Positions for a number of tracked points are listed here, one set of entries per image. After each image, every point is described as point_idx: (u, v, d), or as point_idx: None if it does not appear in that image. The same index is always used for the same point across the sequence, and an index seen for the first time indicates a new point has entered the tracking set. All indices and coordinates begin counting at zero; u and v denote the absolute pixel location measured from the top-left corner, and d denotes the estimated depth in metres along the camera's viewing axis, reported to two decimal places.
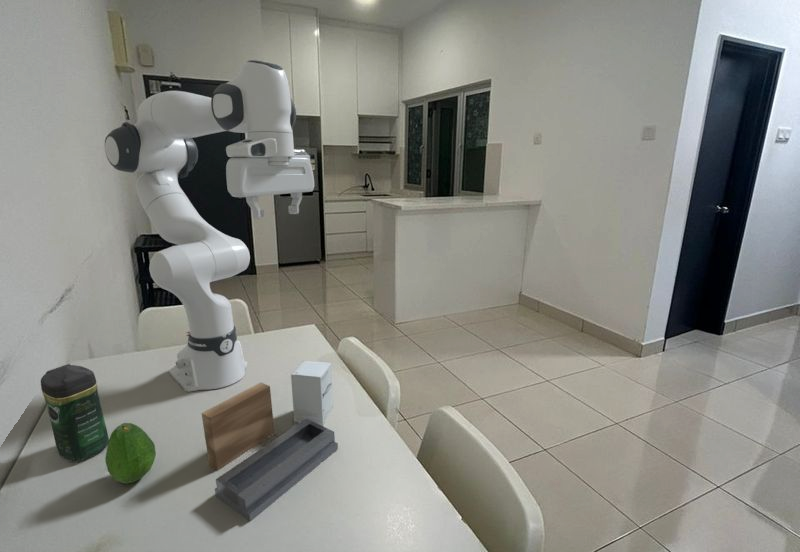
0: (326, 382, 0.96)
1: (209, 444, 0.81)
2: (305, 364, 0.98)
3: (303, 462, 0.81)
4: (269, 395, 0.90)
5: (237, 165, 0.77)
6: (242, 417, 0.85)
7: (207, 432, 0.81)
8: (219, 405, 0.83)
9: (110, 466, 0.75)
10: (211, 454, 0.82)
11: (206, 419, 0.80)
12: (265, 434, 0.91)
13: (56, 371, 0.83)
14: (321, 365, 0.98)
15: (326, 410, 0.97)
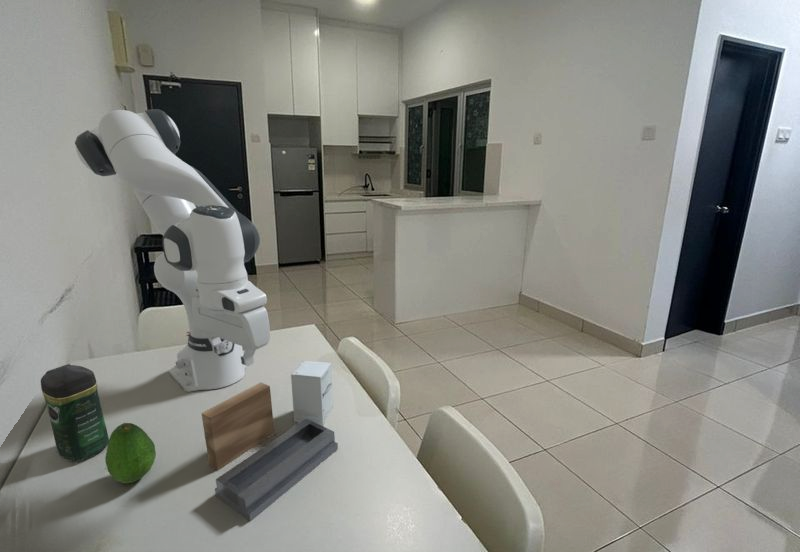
0: (326, 382, 0.96)
1: (209, 444, 0.81)
2: (305, 364, 0.98)
3: (303, 462, 0.81)
4: (269, 395, 0.90)
5: (263, 316, 0.76)
6: (242, 417, 0.85)
7: (207, 432, 0.81)
8: (219, 405, 0.83)
9: (110, 466, 0.75)
10: (211, 454, 0.82)
11: (205, 419, 0.80)
12: (265, 434, 0.91)
13: (56, 371, 0.83)
14: (321, 365, 0.98)
15: (326, 410, 0.97)
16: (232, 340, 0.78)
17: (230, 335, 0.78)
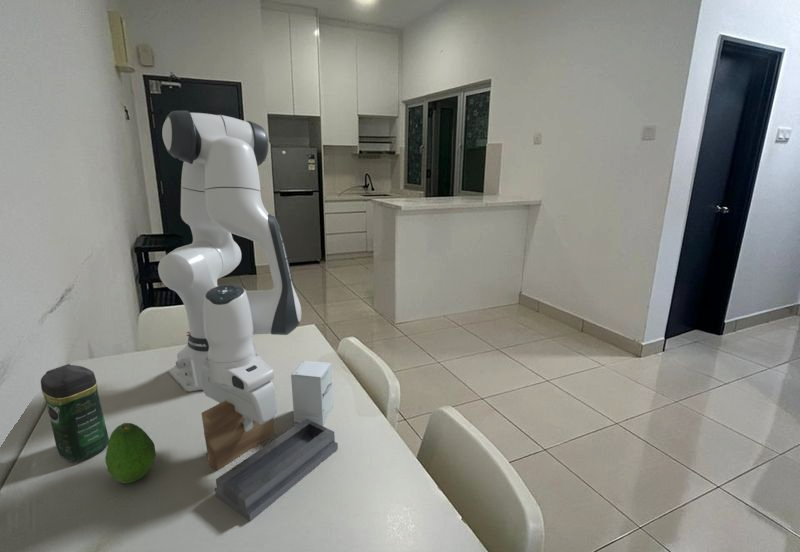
0: (326, 382, 0.96)
1: (209, 444, 0.81)
2: (305, 364, 0.98)
3: (303, 462, 0.81)
4: None
5: (271, 391, 0.80)
6: (242, 417, 0.85)
7: (207, 432, 0.81)
8: (219, 405, 0.83)
9: (110, 466, 0.75)
10: (211, 453, 0.82)
11: (205, 419, 0.80)
12: (265, 434, 0.91)
13: (56, 371, 0.83)
14: (321, 365, 0.98)
15: (326, 410, 0.97)
16: (240, 412, 0.82)
17: (239, 407, 0.82)
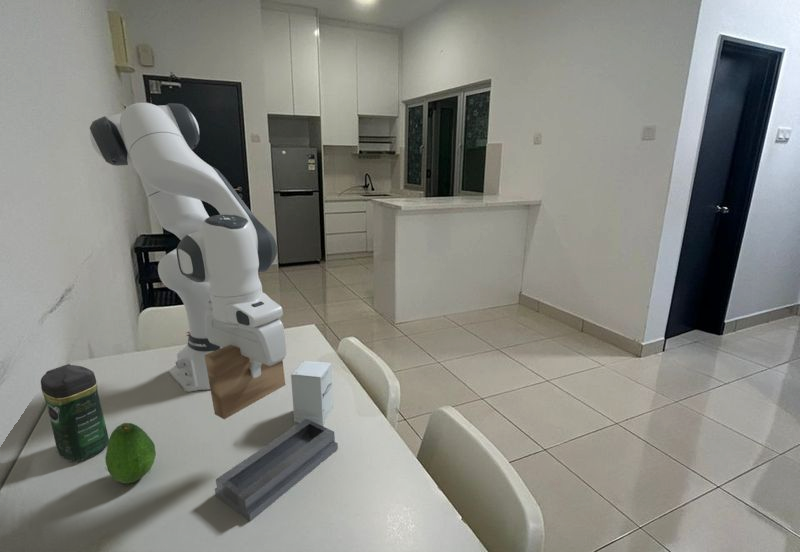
0: (326, 382, 0.96)
1: (214, 390, 0.74)
2: (305, 364, 0.98)
3: (303, 462, 0.81)
4: None
5: (279, 329, 0.72)
6: (249, 362, 0.77)
7: (211, 376, 0.73)
8: (224, 348, 0.75)
9: (110, 466, 0.75)
10: (216, 401, 0.74)
11: (209, 361, 0.72)
12: (275, 384, 0.83)
13: (56, 371, 0.83)
14: (321, 365, 0.98)
15: (326, 410, 0.97)
16: (247, 355, 0.74)
17: (245, 350, 0.74)
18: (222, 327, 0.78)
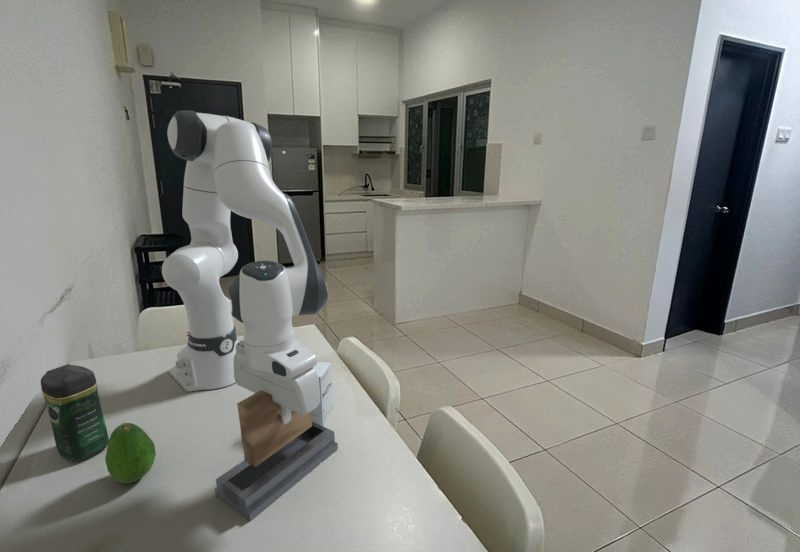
0: (326, 382, 0.96)
1: (246, 438, 0.73)
2: None
3: (303, 462, 0.81)
4: None
5: (314, 379, 0.72)
6: (280, 408, 0.77)
7: (243, 424, 0.73)
8: (255, 395, 0.75)
9: (110, 466, 0.75)
10: (247, 448, 0.74)
11: (242, 410, 0.72)
12: (303, 427, 0.83)
13: (56, 371, 0.83)
14: (321, 365, 0.98)
15: (326, 410, 0.97)
16: (279, 402, 0.74)
17: (277, 397, 0.74)
18: (252, 372, 0.77)
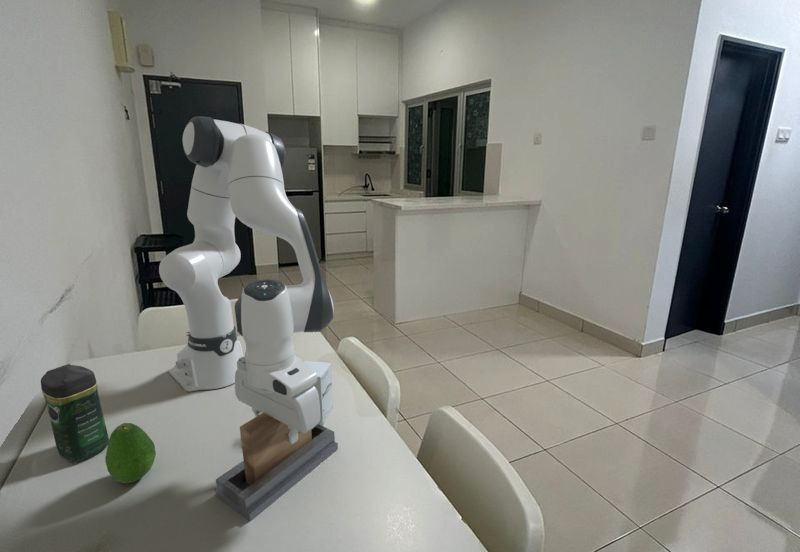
0: (326, 382, 0.96)
1: (247, 461, 0.75)
2: None
3: (303, 462, 0.81)
4: None
5: (314, 397, 0.73)
6: (281, 430, 0.78)
7: (245, 447, 0.74)
8: (257, 418, 0.76)
9: (110, 466, 0.75)
10: (249, 471, 0.75)
11: (244, 433, 0.73)
12: None
13: (56, 371, 0.83)
14: (321, 365, 0.98)
15: (326, 410, 0.97)
16: (280, 419, 0.75)
17: (278, 414, 0.75)
18: (253, 388, 0.78)
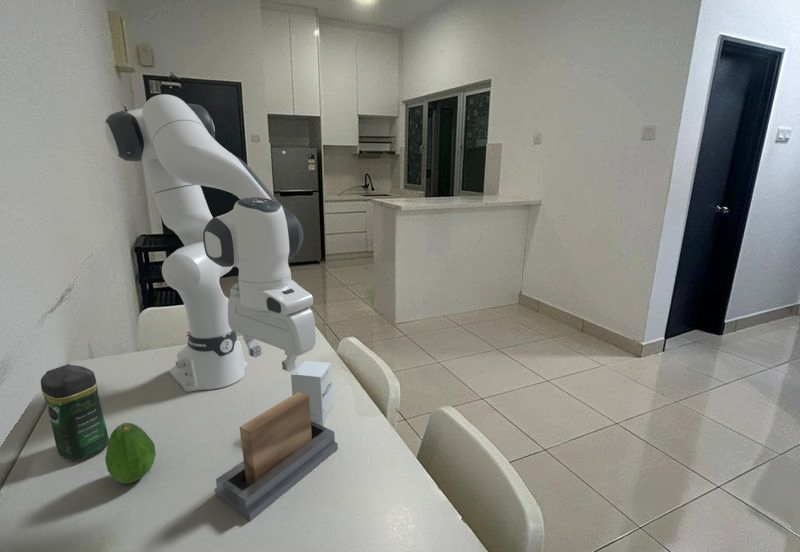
0: (326, 382, 0.96)
1: (247, 461, 0.75)
2: (305, 364, 0.98)
3: (303, 462, 0.81)
4: (308, 406, 0.83)
5: (310, 318, 0.70)
6: (281, 430, 0.78)
7: (245, 447, 0.74)
8: (257, 418, 0.76)
9: (110, 466, 0.75)
10: (249, 471, 0.75)
11: (244, 433, 0.73)
12: None
13: (56, 371, 0.83)
14: (321, 365, 0.98)
15: (326, 410, 0.97)
16: (273, 343, 0.72)
17: (272, 338, 0.72)
18: (247, 314, 0.75)
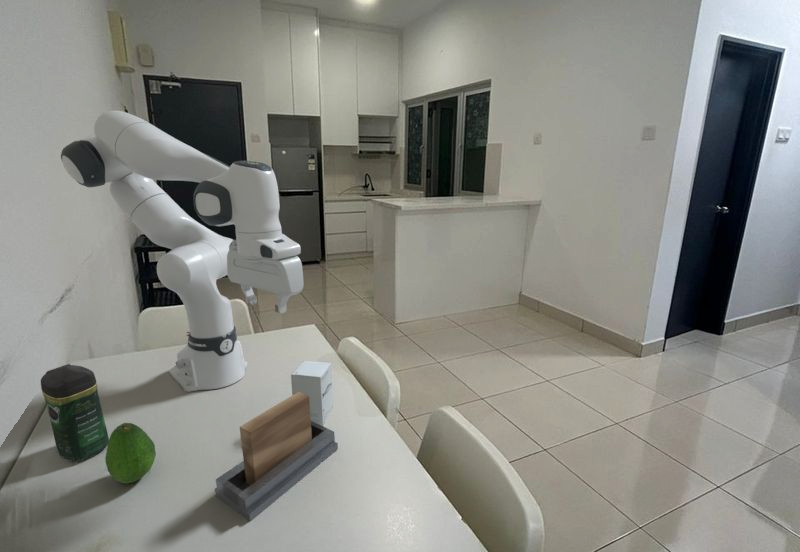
0: (326, 382, 0.96)
1: (247, 461, 0.75)
2: (305, 364, 0.98)
3: (303, 462, 0.81)
4: (308, 406, 0.83)
5: (298, 264, 0.81)
6: (281, 430, 0.78)
7: (245, 447, 0.74)
8: (257, 418, 0.76)
9: (110, 466, 0.75)
10: (249, 471, 0.75)
11: (244, 433, 0.73)
12: None
13: (56, 371, 0.83)
14: (321, 365, 0.98)
15: (326, 410, 0.97)
16: (267, 288, 0.83)
17: (265, 283, 0.83)
18: (244, 265, 0.86)
